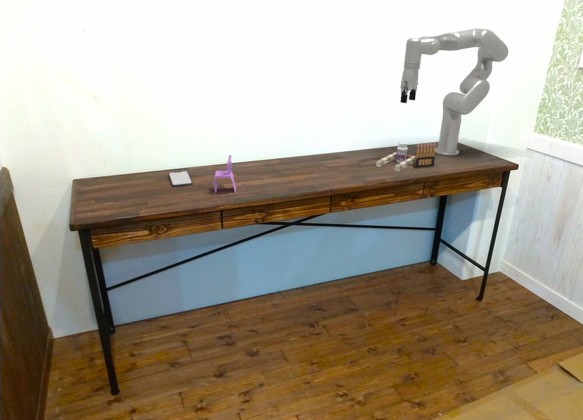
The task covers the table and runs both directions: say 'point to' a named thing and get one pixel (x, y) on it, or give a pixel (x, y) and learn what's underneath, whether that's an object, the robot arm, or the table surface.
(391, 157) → the guide channel
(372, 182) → the table surface
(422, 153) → the ammunition clip
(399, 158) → the pill bottle
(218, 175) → the toy chair
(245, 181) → the table surface
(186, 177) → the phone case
